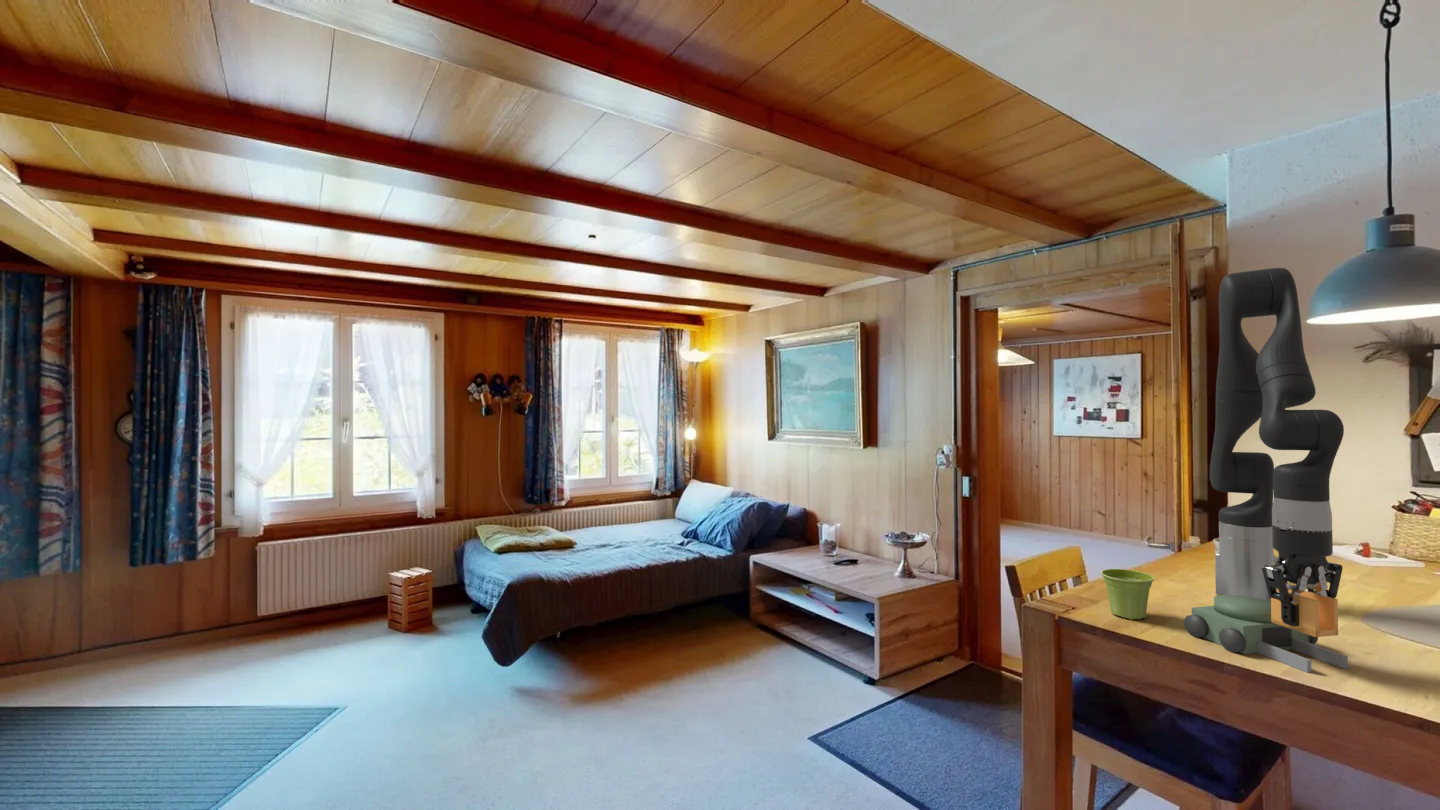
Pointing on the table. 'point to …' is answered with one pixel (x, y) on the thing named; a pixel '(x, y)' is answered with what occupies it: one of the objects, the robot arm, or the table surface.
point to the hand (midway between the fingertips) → (1303, 623)
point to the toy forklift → (1256, 632)
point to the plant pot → (1127, 592)
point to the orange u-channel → (1311, 614)
